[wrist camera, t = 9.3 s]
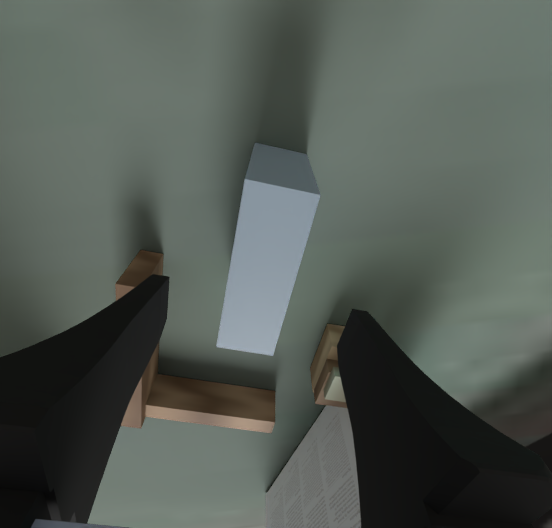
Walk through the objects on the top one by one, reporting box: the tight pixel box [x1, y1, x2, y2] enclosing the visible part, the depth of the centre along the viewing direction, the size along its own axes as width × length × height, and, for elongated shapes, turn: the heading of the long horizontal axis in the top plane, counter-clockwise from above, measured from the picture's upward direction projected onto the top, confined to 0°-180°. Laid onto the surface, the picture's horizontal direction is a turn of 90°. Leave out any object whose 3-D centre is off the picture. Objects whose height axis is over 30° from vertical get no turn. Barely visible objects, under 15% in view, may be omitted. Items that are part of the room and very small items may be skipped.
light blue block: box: [216, 143, 320, 356], centre depth 18 cm, size 3×9×7 cm, turn 168°
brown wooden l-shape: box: [115, 250, 275, 433], centre depth 24 cm, size 12×14×4 cm
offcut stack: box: [310, 324, 347, 408], centre depth 25 cm, size 2×5×4 cm, turn 168°
